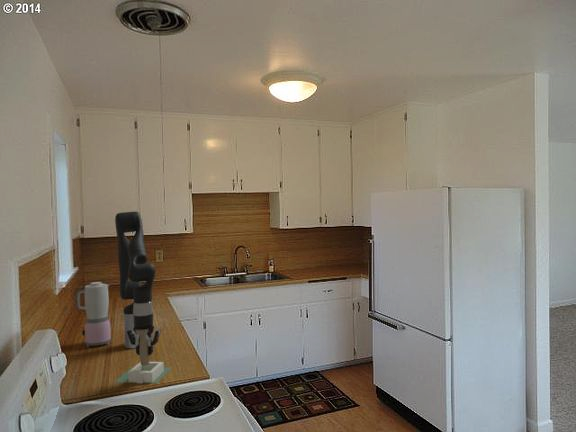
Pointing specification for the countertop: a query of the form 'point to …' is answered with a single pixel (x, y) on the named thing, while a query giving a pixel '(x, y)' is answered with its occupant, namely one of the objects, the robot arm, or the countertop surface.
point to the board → (125, 379)
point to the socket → (146, 372)
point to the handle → (143, 347)
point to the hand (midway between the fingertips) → (144, 354)
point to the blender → (96, 314)
